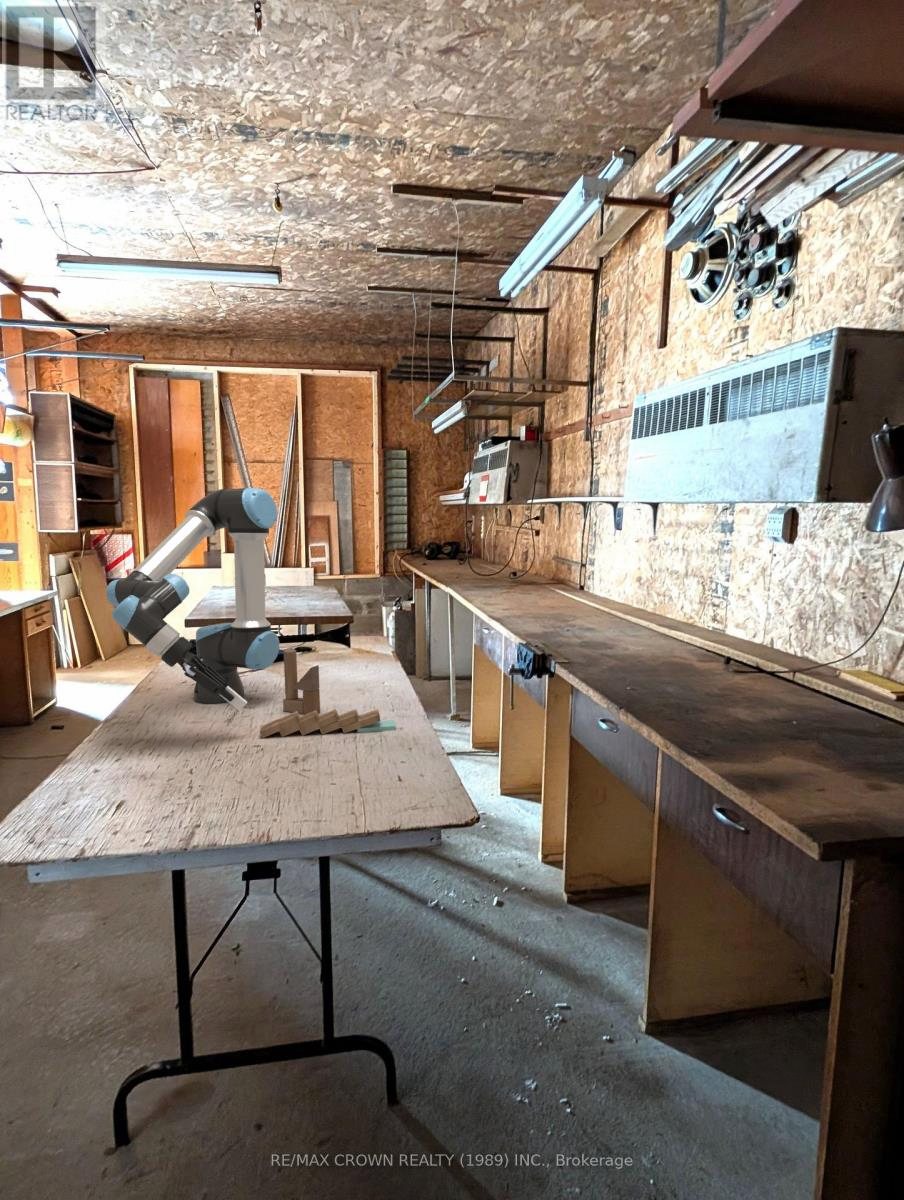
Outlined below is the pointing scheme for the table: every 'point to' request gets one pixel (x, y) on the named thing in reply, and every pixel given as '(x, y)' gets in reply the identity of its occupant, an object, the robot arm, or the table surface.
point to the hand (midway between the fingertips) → (243, 706)
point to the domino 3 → (321, 722)
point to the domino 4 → (341, 721)
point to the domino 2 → (301, 723)
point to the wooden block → (300, 686)
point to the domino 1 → (279, 724)
